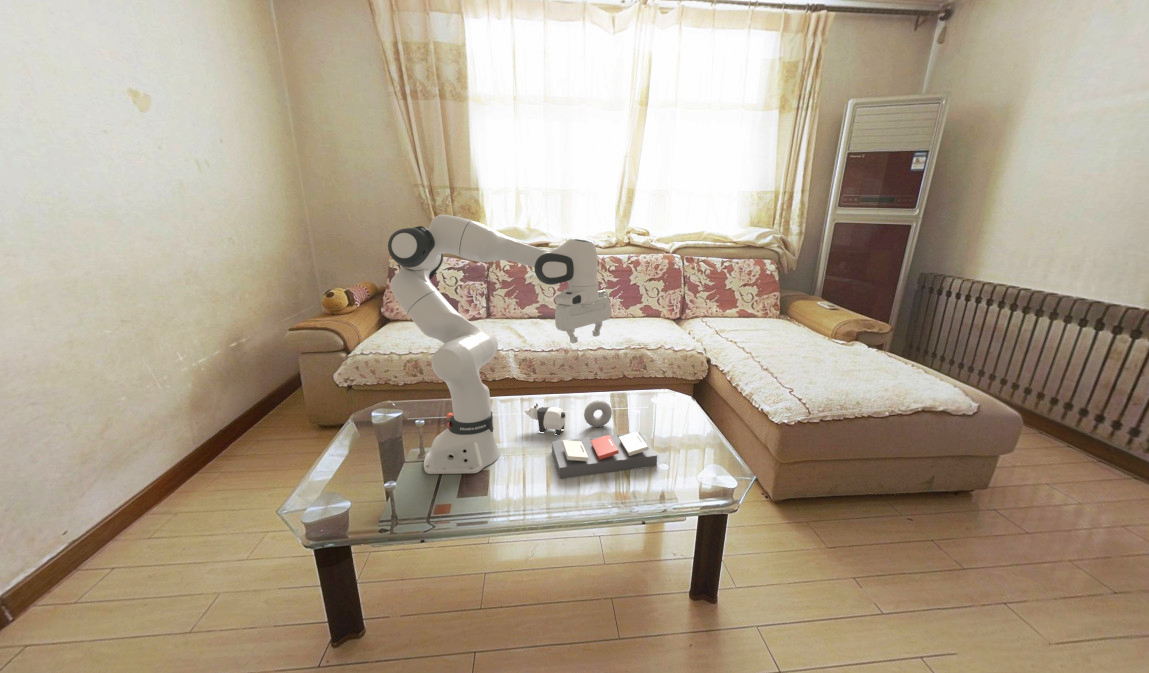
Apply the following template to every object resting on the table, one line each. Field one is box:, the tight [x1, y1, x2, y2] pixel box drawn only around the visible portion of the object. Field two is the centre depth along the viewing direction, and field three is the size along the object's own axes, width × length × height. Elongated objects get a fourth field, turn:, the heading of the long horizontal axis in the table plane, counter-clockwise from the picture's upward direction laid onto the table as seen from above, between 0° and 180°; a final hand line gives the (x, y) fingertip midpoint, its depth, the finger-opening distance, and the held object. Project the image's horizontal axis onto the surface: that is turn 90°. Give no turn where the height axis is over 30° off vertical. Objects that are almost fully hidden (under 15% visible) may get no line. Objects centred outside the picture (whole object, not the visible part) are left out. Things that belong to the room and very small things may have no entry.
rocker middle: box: [591, 434, 619, 460], centre depth 125 cm, size 6×10×1 cm, turn 12°
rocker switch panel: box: [551, 431, 658, 480], centre depth 128 cm, size 29×15×4 cm, turn 101°
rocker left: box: [561, 439, 589, 461], centre depth 123 cm, size 6×10×1 cm, turn 11°
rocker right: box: [619, 431, 648, 456], centre depth 127 cm, size 6×10×1 cm, turn 12°
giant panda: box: [524, 402, 566, 436], centre depth 145 cm, size 15×6×10 cm, turn 72°
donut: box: [583, 399, 613, 428], centre depth 148 cm, size 10×4×10 cm, turn 101°
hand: (585, 339), depth 127 cm, fingers open, 8 cm apart
